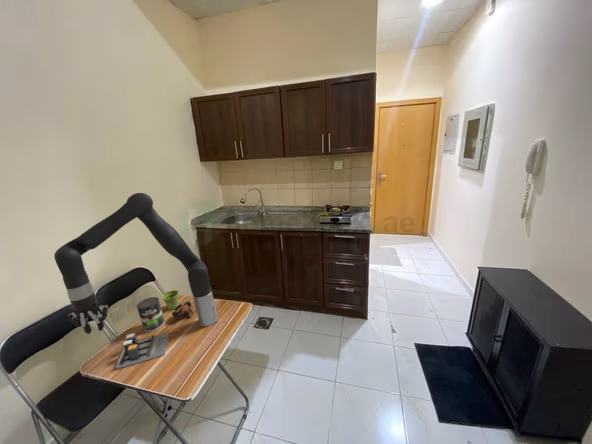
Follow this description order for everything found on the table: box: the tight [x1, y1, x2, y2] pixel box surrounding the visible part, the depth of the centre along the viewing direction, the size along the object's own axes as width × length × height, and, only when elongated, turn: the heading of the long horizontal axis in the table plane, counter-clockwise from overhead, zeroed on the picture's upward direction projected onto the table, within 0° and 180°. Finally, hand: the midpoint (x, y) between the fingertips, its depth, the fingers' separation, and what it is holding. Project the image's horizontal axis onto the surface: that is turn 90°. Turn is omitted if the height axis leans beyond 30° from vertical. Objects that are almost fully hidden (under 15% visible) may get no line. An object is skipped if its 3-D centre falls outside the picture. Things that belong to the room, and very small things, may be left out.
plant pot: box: [161, 289, 180, 311], centre depth 147 cm, size 9×9×9 cm
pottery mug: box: [171, 300, 194, 319], centre depth 139 cm, size 12×10×8 cm
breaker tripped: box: [128, 344, 140, 360], centre depth 109 cm, size 3×2×5 cm
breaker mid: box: [122, 340, 134, 355], centre depth 112 cm, size 3×2×5 cm
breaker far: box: [125, 333, 138, 345], centre depth 116 cm, size 3×2×5 cm
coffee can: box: [136, 296, 166, 333], centre depth 131 cm, size 10×10×14 cm
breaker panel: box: [115, 332, 170, 370], centre depth 115 cm, size 19×14×2 cm
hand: (95, 331), depth 102 cm, fingers open, 3 cm apart
